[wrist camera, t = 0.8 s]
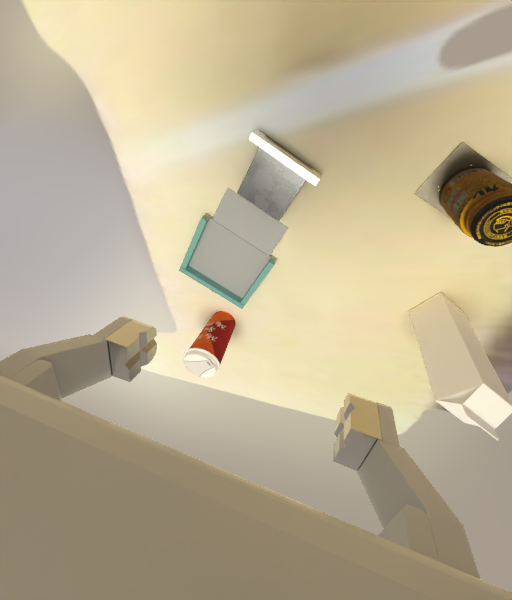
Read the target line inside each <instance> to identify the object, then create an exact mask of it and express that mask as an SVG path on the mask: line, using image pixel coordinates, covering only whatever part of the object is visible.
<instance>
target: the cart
mask: <svg viewBox="0 0 512 600" xmlns="http://www.w3.org/2000/svg"><path fill="white" fill-rule="evenodd" d="M249 140H250V141H251V142H253V143H254V144H256V145H257V146H259V147H260V148H259V150H258V152H257V154H256V156H255V158H254V160H253V162H252V164H251V166H250V168H249V170H248V172H247V174H246V176H245V178H244V180H243V182H242V184H241V186H240V188H239V190H238V192H237V193H238V194H239V195H241V196H242V197H244V198H245V199H247V200H248V201H250V202H251V203H253V204H254V205H256V206H257V207H259V208H260V209H262V210H263V211H265V212H266V213H268V214H269V215H271V216H272V217H274V218H275V219H277V220H278V221H279V220H280V219H281V217H282V216H283V214H284V213H285V211H286V210H287V208H288V206H289V205H290V203H291V202H292V200H293V199H294V197H295V196H296V194H297V193H298V191H299V190H300V188H301V187H302V185H303V183H304V182H305V180H307V181H309V182H310V183H312V184H313V185H315V186H316V184H317V183H318V181H319V180H320V177H321V174H320V173H318V172H317V171H316V170H314V169H313V168H311V167H310V166H308V165H307V164H306V163H304V162H303V161H301V160H300V159H299V158H297V157H296V156H294V155H293V154H291V153H290V152H289V151H287V150H286V149H284V148H283V147H282V146H280V145H279V144H277V143H276V142H274V141H273V140H272V139H270V138H269V137H267V136H266V135H265V134H263V133H262V132H260V131H259V130H255V131H253V132H251V135H250V137H249Z"/></svg>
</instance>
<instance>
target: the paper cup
mask: <svg viewBox="0 0 512 600" xmlns="http://www.w3.org/2000/svg"><path fill="white" fill-rule="evenodd" d="M234 327H235V320H234V318H233V317H232V316H231V315H230V314H229V313H226V312H222V311H220V312H216V313H215V314H214V315H213V317H212V318H211V319H210V321H209V322H208V323H207V325H206V326H205V327H204V329H203V330H202V332H201V333H200V335H199V336H198V337H197V339H196V340H195V342H194V343H193V344H192V346H191V347H190V349H188V350H186V352H185V353H184V365H185V367H186V368H187V369H188V370H189V371H190V372H191V373H193V374H194V375H197V376H199V377H202V378H210V377H212V376H214V375H215V374H216V373H217V372H219V370H220V363H221V361H222V358H223V356H224V353H225V351H226V348H227V345H228V343H229V340H230V338H231V335H232V332H233V330H234Z"/></svg>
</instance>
